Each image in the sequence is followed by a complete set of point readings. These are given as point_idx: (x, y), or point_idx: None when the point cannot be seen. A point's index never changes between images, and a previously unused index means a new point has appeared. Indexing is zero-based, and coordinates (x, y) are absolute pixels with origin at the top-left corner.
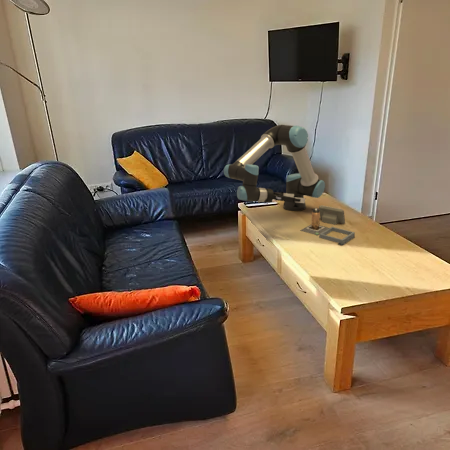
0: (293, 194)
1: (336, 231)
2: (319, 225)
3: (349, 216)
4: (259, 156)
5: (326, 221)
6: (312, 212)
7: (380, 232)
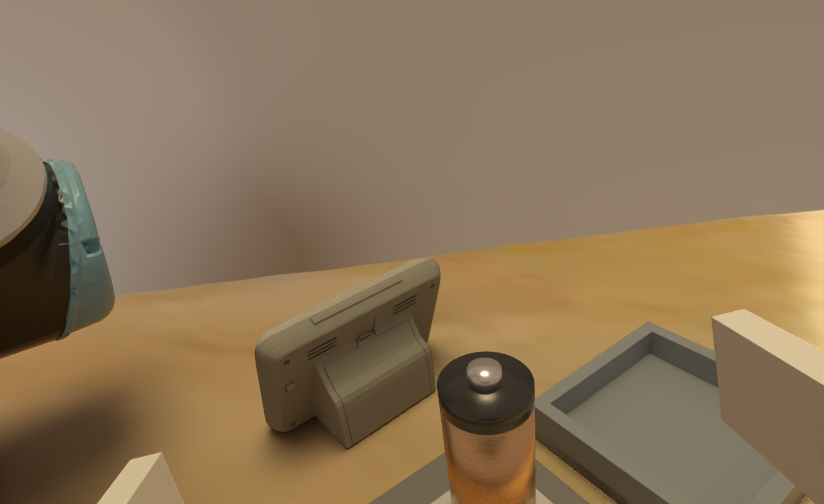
0: (153, 468)
1: (572, 405)
2: (412, 477)
3: (315, 300)
4: None
5: (377, 408)
6: (499, 437)
7: (565, 258)
